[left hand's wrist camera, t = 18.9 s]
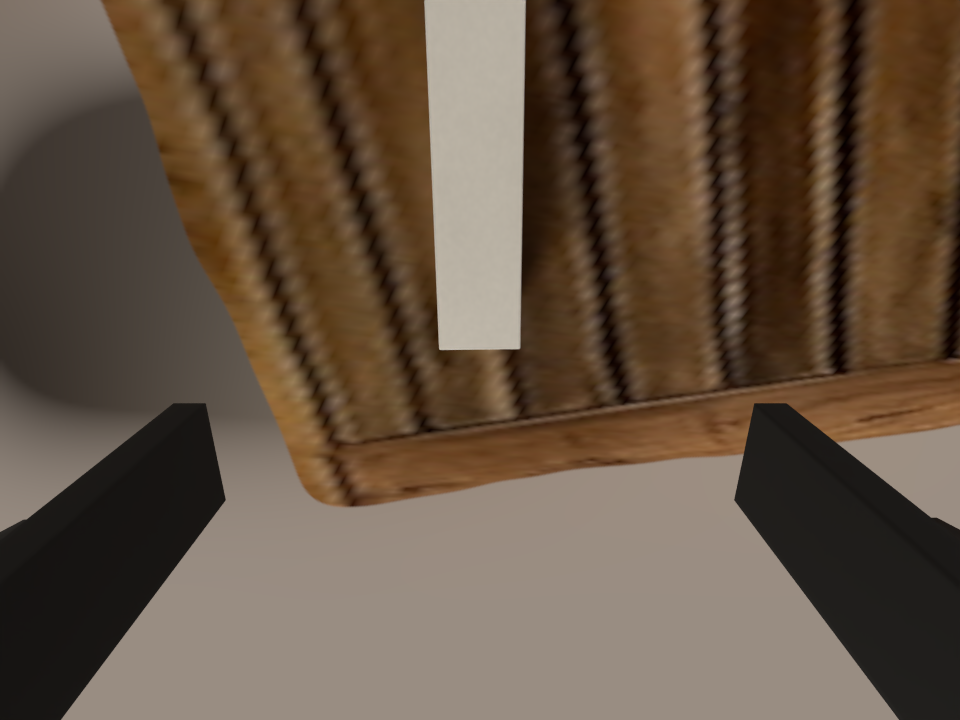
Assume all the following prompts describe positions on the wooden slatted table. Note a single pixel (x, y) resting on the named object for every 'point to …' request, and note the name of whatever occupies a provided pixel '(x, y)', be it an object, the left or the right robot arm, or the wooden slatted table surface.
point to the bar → (477, 168)
